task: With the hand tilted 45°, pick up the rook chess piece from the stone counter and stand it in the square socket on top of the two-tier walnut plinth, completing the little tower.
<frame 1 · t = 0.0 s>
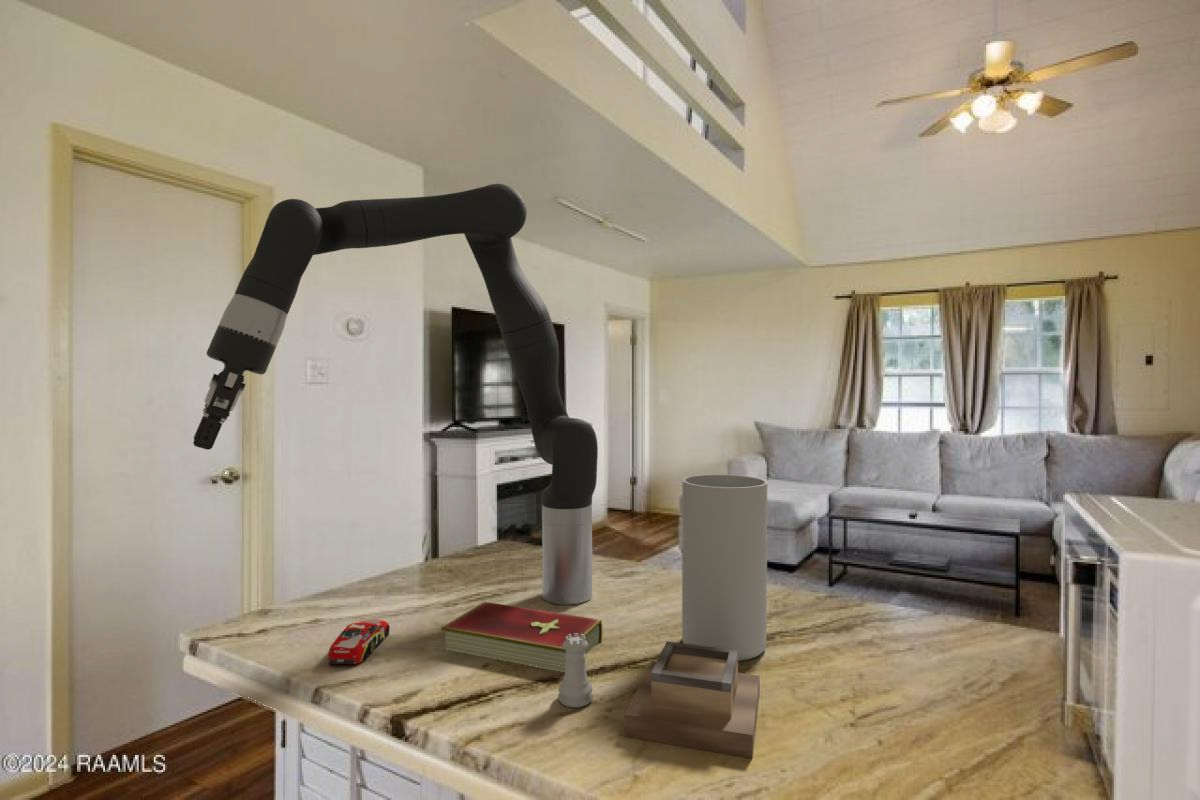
hand: (201, 445, 84), 31 cm above the counter, tool tilted 20°, fingers open, 8 cm apart
hardcover book: (523, 649, 95), on the counter
cylinder vase: (723, 646, 95), on the counter
rook chess piece: (575, 701, 79), on the counter
walnut plinth: (696, 714, 75), on the counter
race car: (360, 651, 94), on the counter
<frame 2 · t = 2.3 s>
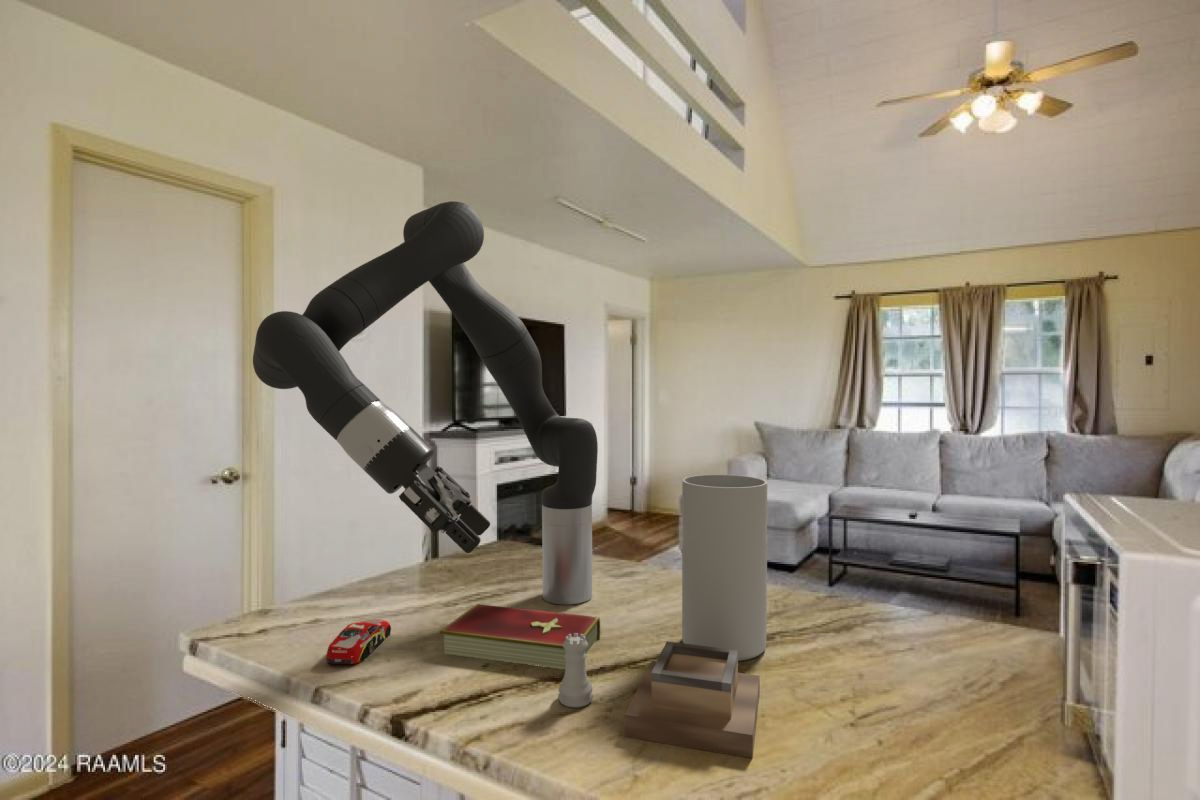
hand: (480, 538, 77), 21 cm above the counter, tool tilted 45°, fingers open, 8 cm apart
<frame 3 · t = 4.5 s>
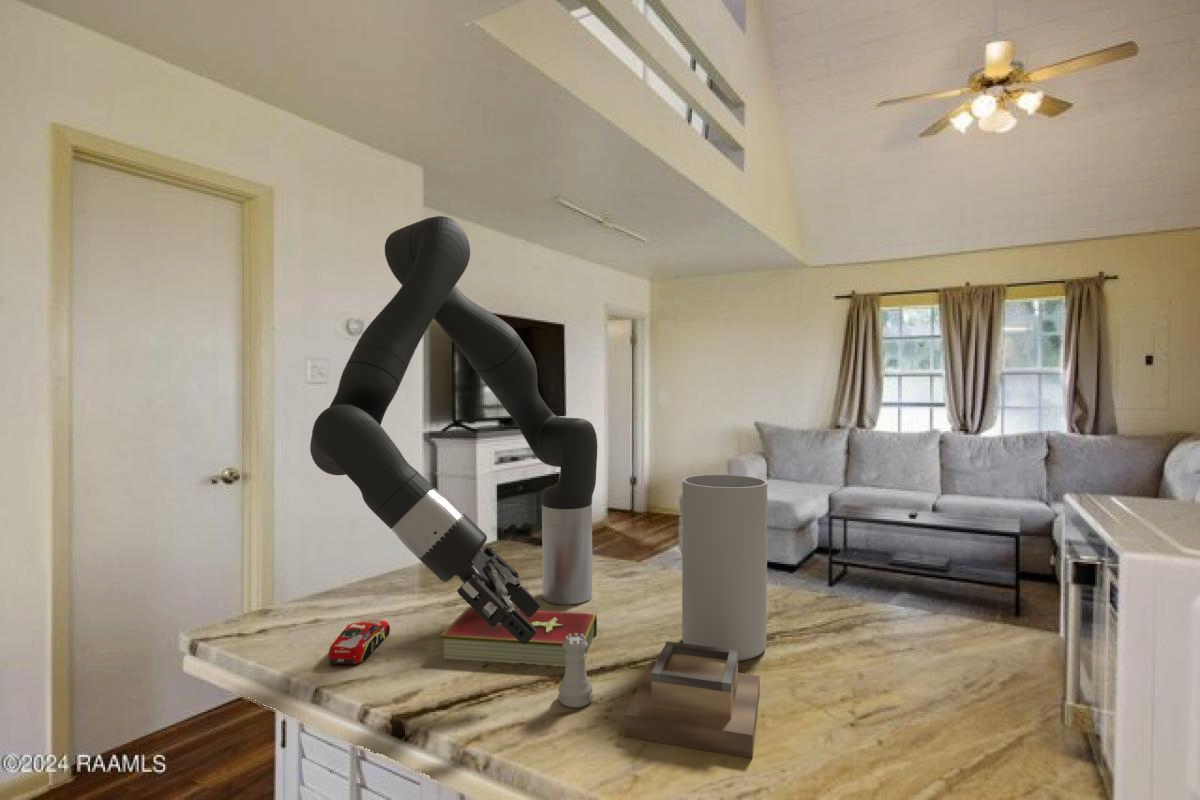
hand: (533, 624, 78), 10 cm above the counter, tool tilted 45°, fingers open, 8 cm apart
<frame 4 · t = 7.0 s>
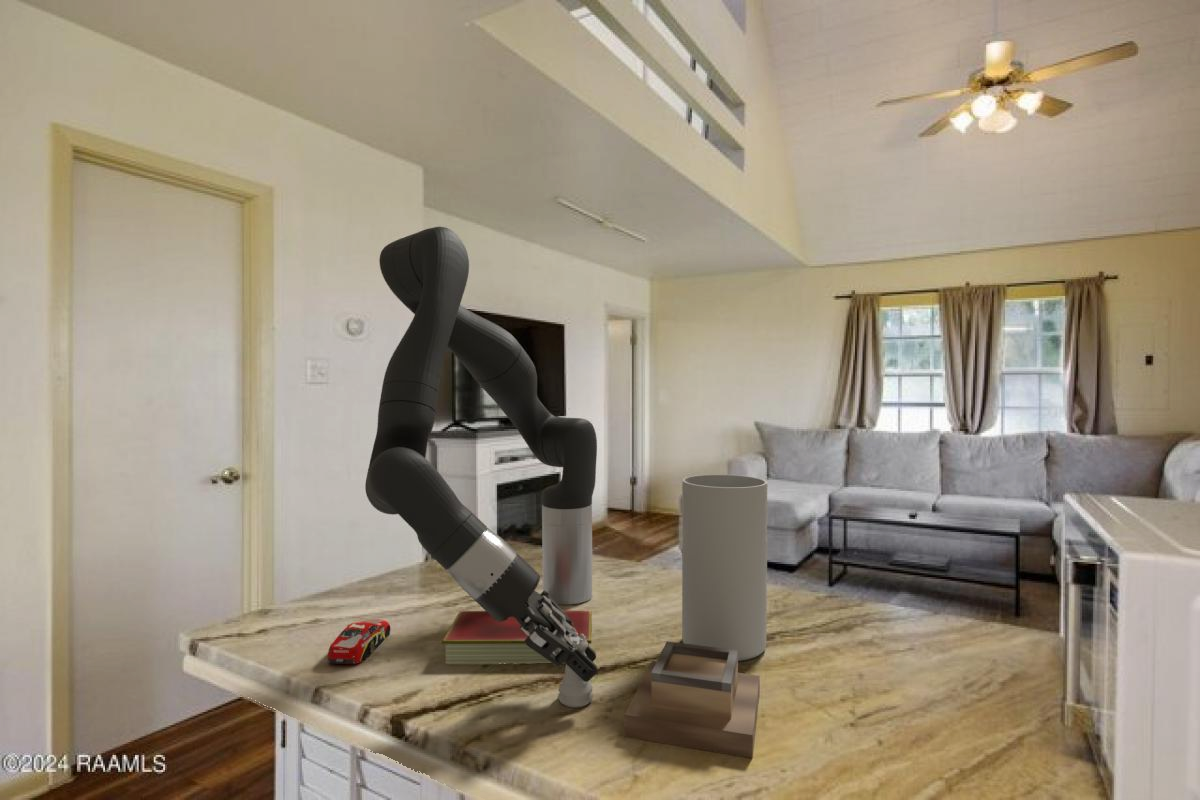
hand: (591, 667, 78), 4 cm above the counter, tool tilted 45°, fingers closed on rook chess piece, 3 cm apart
rook chess piece: (575, 701, 79), on the counter, touching gripper
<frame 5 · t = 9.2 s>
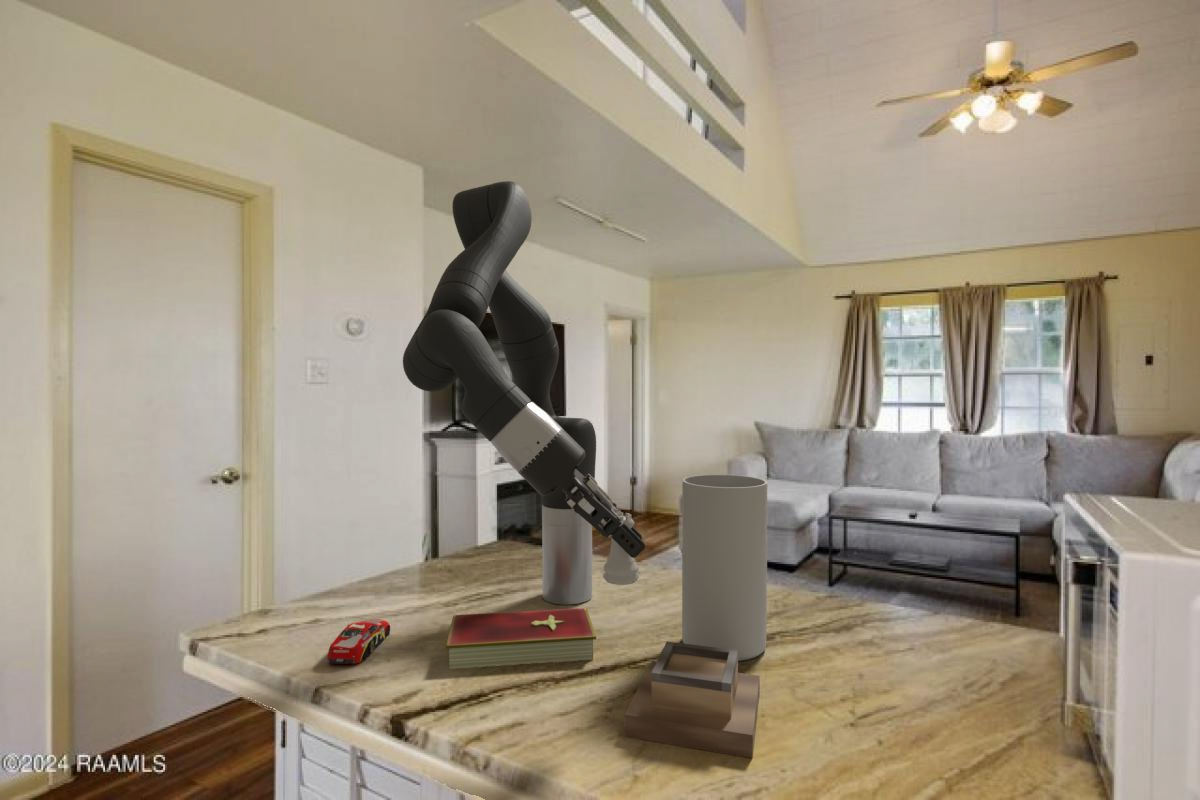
hand: (637, 547, 76), 20 cm above the counter, tool tilted 45°, fingers closed on rook chess piece, 3 cm apart
rook chess piece: (620, 581, 76), point 16 cm above the counter, touching gripper
when the fingers open (11 cm above the counter, at t = 11.6 s): rook chess piece drops 2 cm, resting on walnut plinth.
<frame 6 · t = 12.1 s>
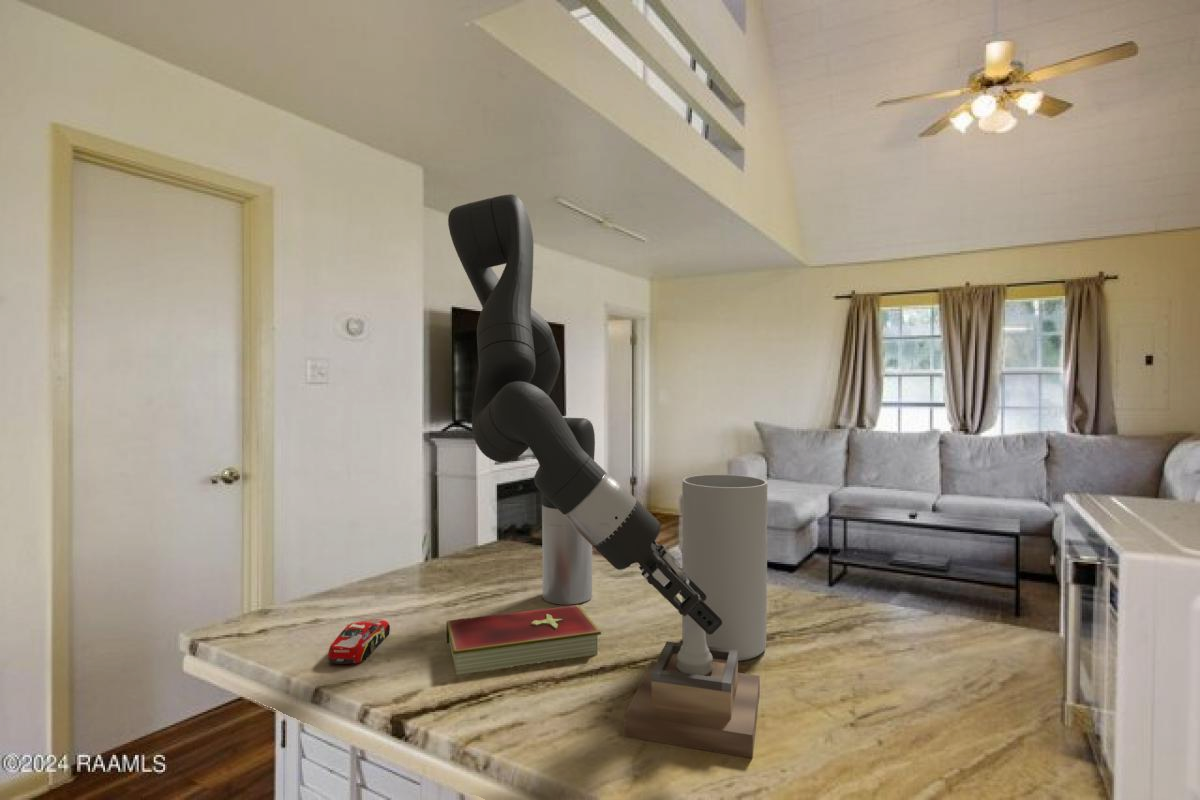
hand: (708, 614, 75), 12 cm above the counter, tool tilted 45°, fingers open, 8 cm apart
rook chess piece: (694, 671, 75), point 5 cm above the counter, touching walnut plinth
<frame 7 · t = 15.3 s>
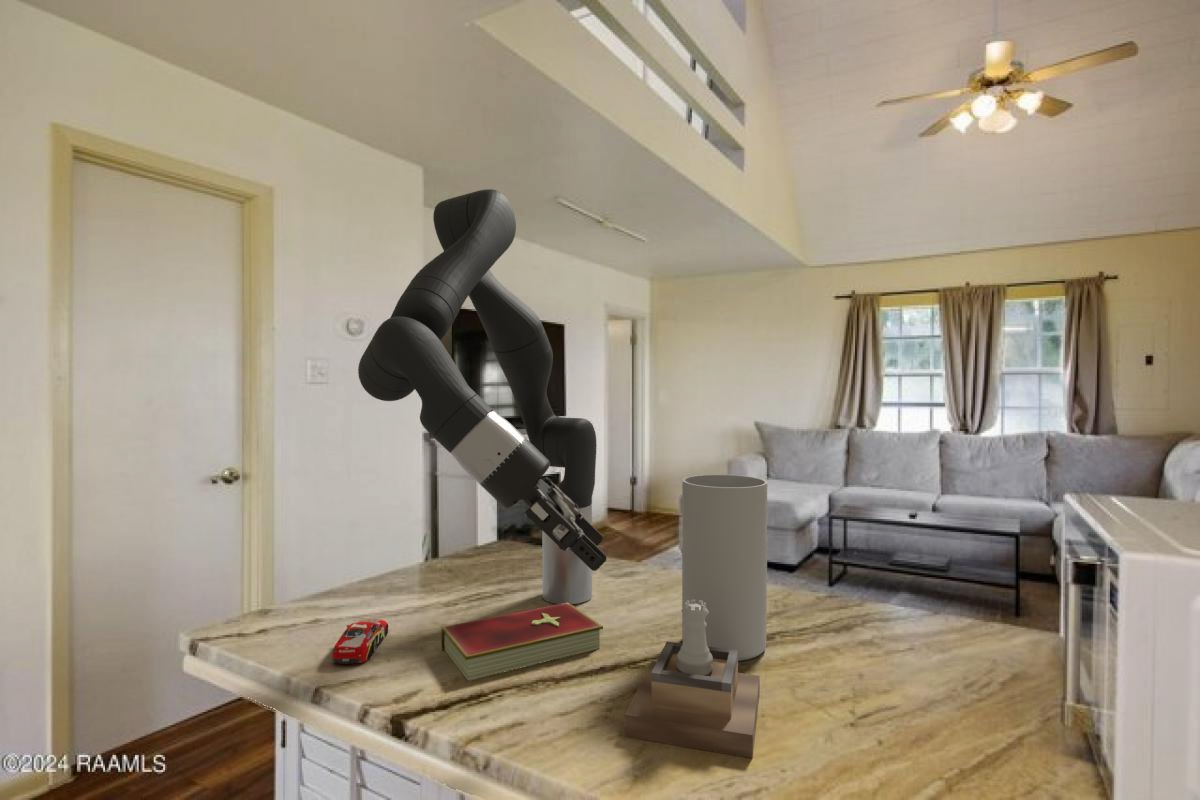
hand: (599, 553, 74), 20 cm above the counter, tool tilted 45°, fingers open, 8 cm apart
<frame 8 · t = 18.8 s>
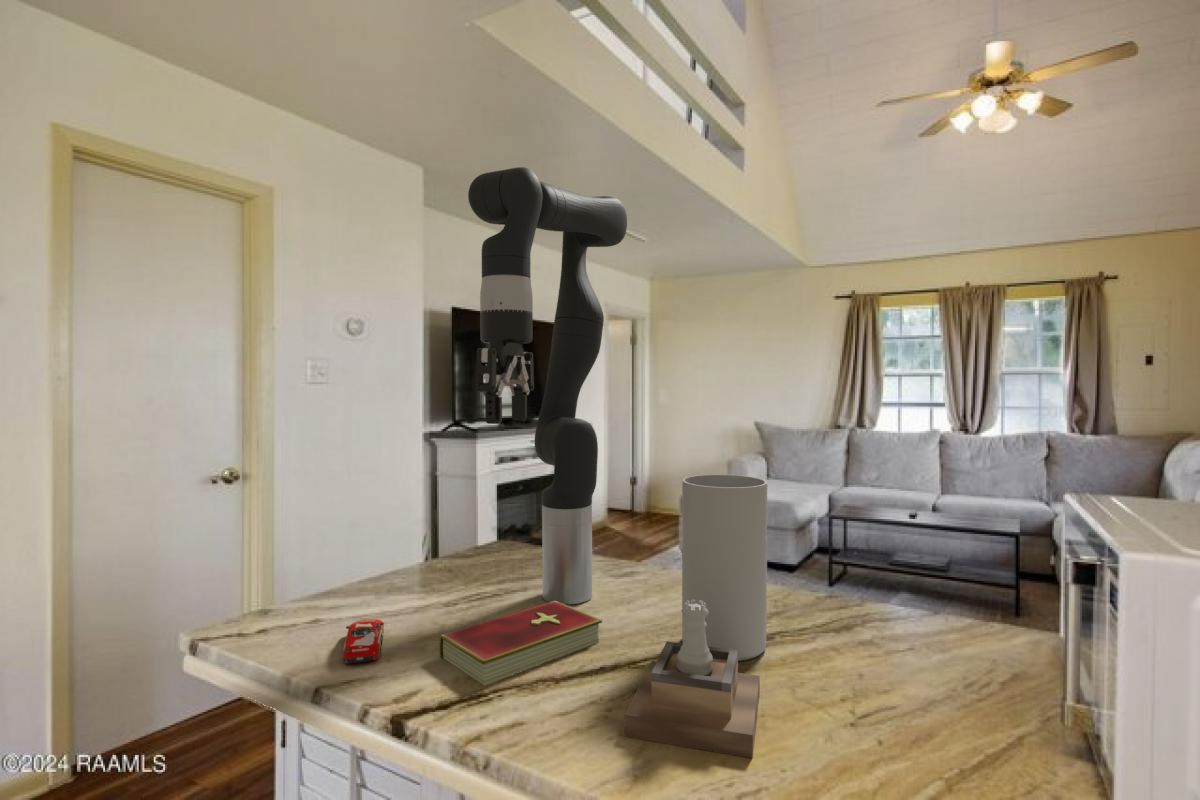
hand: (507, 421, 91), 34 cm above the counter, tool pointing down, fingers open, 8 cm apart
at the end: rook chess piece 0.3 cm off-centre on the walnut plinth, point 5.3 cm above the walnut plinth's base; rook chess piece tilted 0°; the gripper is holding nothing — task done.
